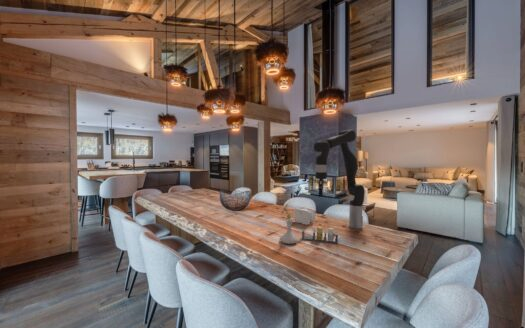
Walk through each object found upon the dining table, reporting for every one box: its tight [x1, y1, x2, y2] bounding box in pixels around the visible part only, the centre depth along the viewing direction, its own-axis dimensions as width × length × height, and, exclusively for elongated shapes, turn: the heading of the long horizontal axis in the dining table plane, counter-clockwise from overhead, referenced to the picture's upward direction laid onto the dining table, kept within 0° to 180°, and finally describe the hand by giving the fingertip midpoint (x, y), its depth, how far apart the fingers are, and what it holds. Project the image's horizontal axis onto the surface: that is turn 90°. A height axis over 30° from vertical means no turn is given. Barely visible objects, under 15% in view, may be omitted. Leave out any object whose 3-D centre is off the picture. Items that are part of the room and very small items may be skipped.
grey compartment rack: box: [301, 228, 339, 245], centre depth 148 cm, size 22×6×6 cm, turn 75°
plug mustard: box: [316, 226, 324, 239], centre depth 148 cm, size 4×4×7 cm
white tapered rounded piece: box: [279, 203, 299, 245], centre depth 143 cm, size 13×11×25 cm
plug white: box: [327, 227, 335, 241], centre depth 146 cm, size 4×4×7 cm
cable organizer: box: [293, 206, 316, 226], centre depth 186 cm, size 15×11×12 cm
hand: (320, 195), depth 153 cm, fingers open, 8 cm apart
